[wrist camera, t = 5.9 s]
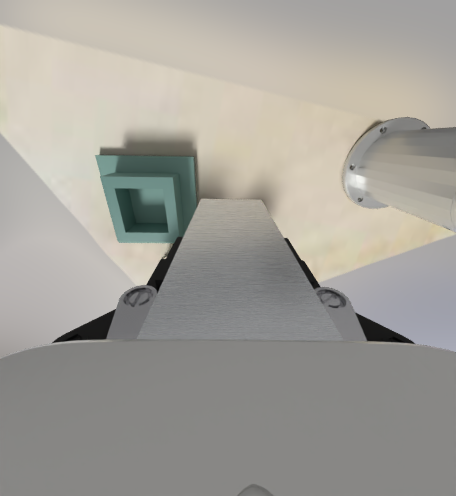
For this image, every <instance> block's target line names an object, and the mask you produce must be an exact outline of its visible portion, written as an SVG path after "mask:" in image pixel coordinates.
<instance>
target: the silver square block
mask: <svg viewBox="0 0 456 496" xmlns="http://www.w3.org/2000/svg"><path fill="white" fill-rule="evenodd" d="M137 339H243V340H331V341H344V340H343V338H342V337H341V335H340V333H339V332H338V330H337V328H336V326H335V325H334V323H333V321H332V320H331V318H330V316H329V314H328V313H327V311H326V309H325V308H324V306H323V304H322V302H321V301H320V299H319V297H318V296H317V294H316V292H315V291H314V289H313V287H312V285H311V284H310V282H309V280H308V279H307V277H306V275H305V273H304V272H303V270H302V268H301V267H300V265H299V263H298V261H297V260H296V258H295V256H294V255H293V253H292V251H291V249H290V248H289V246H288V244H287V243H286V241H285V239H284V238H283V236H282V234H281V232H280V231H279V229H278V227H277V226H276V224H275V222H274V220H273V219H272V217H271V215H270V214H269V212H268V210H267V208H266V207H265V205H264V203H263V202H262V200H254V199H201V200H200V202H199V204H198V206H197V208H196V211H195V213H194V215H193V217H192V219H191V221H190V224H189V226H188V228H187V230H186V232H185V235H184V237H183V239H182V241H181V243H180V245H179V248H178V250H177V252H176V254H175V256H174V259H173V261H172V263H171V265H170V267H169V269H168V272H167V274H166V276H165V278H164V280H163V282H162V285H161V287H160V289H159V291H158V293H157V296H156V298H155V300H154V302H153V304H152V306H151V309H150V311H149V313H148V315H147V317H146V319H145V322H144V324H143V326H142V328H141V330H140V333H139V335H138V337H137Z"/></svg>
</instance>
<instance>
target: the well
mask: <svg viewBox="0 0 456 496" xmlns="http://www.w3.org/2000/svg"><path fill="white" fill-rule="evenodd" d="M95 156H96V160H97V164H98V167H99V171H100V175H101V176H100V178H101V182H102V185H103V189H104V193H105V196H106V200H107V204H108V207H109V211H110V215H111V218H112V222H113V225H114V229H115V233H116V236H117V240H118V241H119V243H174V242H175V241H176V239H177V237H184V235H185V232H186V230H187V228H188V226H189V224H190V221H191V219H192V217H193V215H194V213H195V211H196V208H197V199H196V182H195V165H194V157H191V156H130V155H95Z"/></svg>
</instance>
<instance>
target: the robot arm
mask: <svg viewBox="0 0 456 496" xmlns="http://www.w3.org/2000/svg"><path fill="white" fill-rule="evenodd" d="M350 165H351V167H350ZM342 179H343V187H344V191H345V193H346V194H347V196H348V197H349V199H350V200H351V201H352V202H354V203H356V204H357V205H359V206H362V207H365V208H369V209H379V208H385V207H388V206H391V207H393V208H396V209H398V210H401V211H403V212H406V213H408V214H411V215H413V216H416V217H418V218H421V219H423V220H426V221H428V222H431V223H434V224H436V225H439V226H441V227H444V228H446V229H449V230H451V231H454V232H456V127H453V128H438V129H437V128H436V129H430V127H429V126H428V125H427V124H425V123H424V122H423V121H421V120H418V119H416V118H410V117H404V118H396V119H391V120H387V121H385V122H382V123H380V124H378V125H377V126H375V127H373V128H372V129H370V130H369V131H368V132H367V133H365V134H364V135H363V136H362V137H361V138H360V139H359V140H358V142H357V143H356V144H355V145H354V147H353V148H352V150H351V151H350V153H349V155H348V157H347V159H346V162H345V165H344V168H343V176H342ZM182 239H183V237H177V239H176V241H175V242H174V244H173V246H172V248H171V250H170V252H169V254H168V256H167V258H166V259H161V260H160V262H159V263H158V265H157V267H156V269H155V271H154V272H153V274H152V276H151V278H150V279H149V281H148V283H147V285H141V286H136V287H134V288H131V289H129V290H128V291H126V292H125V293H124V294H123V295H122V296H121V297H120V299H119V302H118V305H117V308H116V309H115V310H113V311H111V312H109V313H107V314H105V315H103V316H101V317H99V318H97V319H95V320H92V321H91V322H89V323H87V324H84V325H82V326H80V327H78V328H76V329H74V330H72V331H70V332H68V333H66V334H64V335H62V336H61V337H59V338H57V339H56V340H55V341H54V342H53V343H51V344H46V345H41V346H35V347H32V348H28V349H25V350H21V351H18V352H14V353H12V354H8V355H6V356H3V357H0V496H456V352H453V351H450V350H446V349H441V348H436V347H431V346H427V345H419V344H415V343H414V342H412V341H411V340H409V339H407V338H406V337H404V336H402V335H400V334H398V333H396V332H394V331H392V330H390V329H388V328H386V327H383V326H382V325H380V324H378V323H375V322H373V321H371V320H369V319H367V318H365V317H363V316H361V315H359V314H357V313H355V312H354V309H353V307H352V305H351V302H350V301H349V299H348V297H346V296H345V295H344V294H343V293H341V292H339V291H338V290H335V289H332V288H328V287H320V285H319V284H318V282H317V281H316V279H315V277H314V276H313V274H312V273H311V271H310V270H309V268H308V266H307V265H306V263H305V262H304V261H303V260H301V259H300V258H299V256H298V254H297V253H296V251H295V249H294V248H293V246H292V245H291V243H290V241H289V240H288V238H284V239H285V241H286V243H287V244H288V246H289V248H290V249H291V251H292V253H293V255H294V256H295V258H296V260H297V261H298V263H299V265H300V267H301V268H302V270H303V272H304V273H305V275H306V277H307V279H308V280H309V282H310V284H311V285H312V287H313V289H314V291H315V292H316V294H317V296H318V297H319V299H320V301H321V302H322V304H323V306H324V308H325V309H326V311H327V313H328V314H329V316H330V318H331V320H332V321H333V323H334V325H335V326H336V328H337V330H338V332H339V333H340V335H341V337H342V338H343V340H344V341H331V340H243V339H137V337H138V335H139V333H140V330H141V328H142V326H143V324H144V322H145V319H146V317H147V315H148V313H149V311H150V309H151V306H152V304H153V302H154V300H155V298H156V296H157V293H158V291H159V289H160V287H161V285H162V282H163V280H164V278H165V276H166V274H167V272H168V269H169V267H170V265H171V263H172V261H173V259H174V256H175V254H176V252H177V250H178V248H179V245H180V243H181V241H182Z"/></svg>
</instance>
